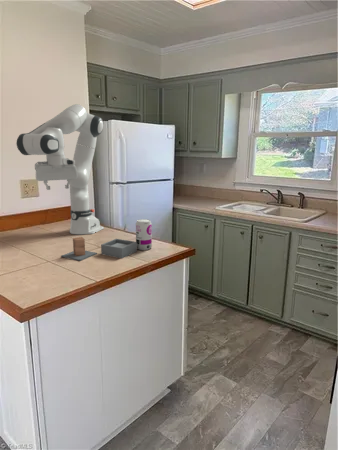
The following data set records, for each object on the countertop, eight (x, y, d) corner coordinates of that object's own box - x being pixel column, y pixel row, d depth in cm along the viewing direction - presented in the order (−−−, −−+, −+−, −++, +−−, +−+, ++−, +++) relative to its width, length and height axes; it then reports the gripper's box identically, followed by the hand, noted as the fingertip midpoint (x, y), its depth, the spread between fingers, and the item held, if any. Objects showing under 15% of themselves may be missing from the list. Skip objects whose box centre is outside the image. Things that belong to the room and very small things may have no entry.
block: (73, 253, 164) (72, 238, 162) (82, 252, 166) (81, 236, 164) (76, 256, 160) (75, 240, 158) (85, 254, 163) (84, 239, 161)
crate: (116, 248, 176) (116, 238, 175) (136, 252, 171) (136, 241, 169) (101, 255, 165) (101, 244, 164) (122, 259, 160) (121, 248, 158)
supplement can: (154, 247, 178) (154, 219, 175) (146, 251, 171) (146, 223, 167) (141, 245, 181) (140, 218, 178) (133, 249, 174) (132, 221, 171)
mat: (78, 250, 171) (78, 249, 171) (96, 253, 166) (96, 252, 166) (61, 256, 161) (61, 255, 161) (80, 260, 156) (80, 259, 155)
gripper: (36, 161, 157) (38, 191, 160) (77, 161, 168) (79, 188, 172) (32, 161, 162) (34, 189, 165) (73, 160, 173) (75, 187, 177)
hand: (57, 189), depth 168 cm, fingers open, 8 cm apart
